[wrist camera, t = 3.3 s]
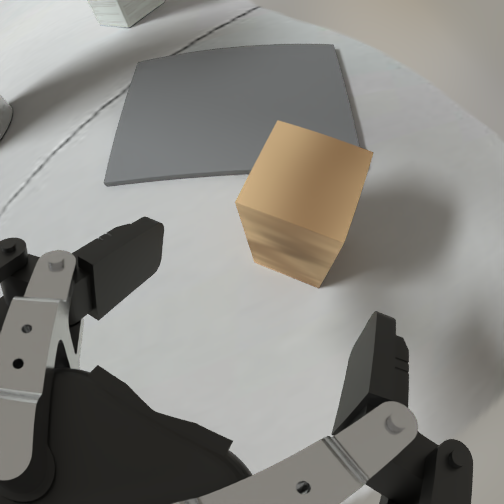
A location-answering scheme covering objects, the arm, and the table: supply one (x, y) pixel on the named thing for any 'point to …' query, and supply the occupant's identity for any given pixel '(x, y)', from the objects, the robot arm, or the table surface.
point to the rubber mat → (224, 109)
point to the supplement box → (122, 11)
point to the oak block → (301, 201)
